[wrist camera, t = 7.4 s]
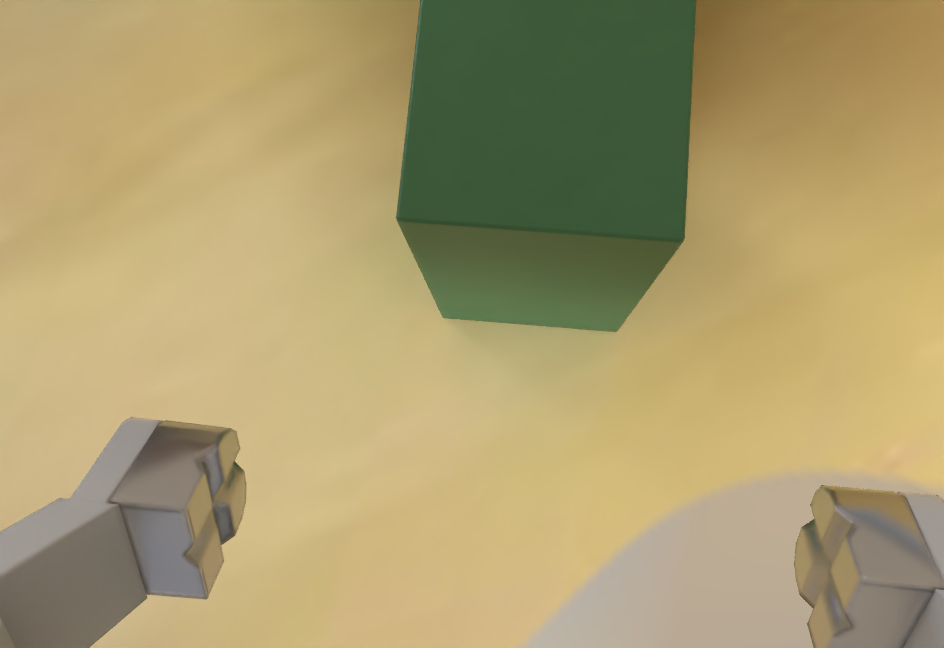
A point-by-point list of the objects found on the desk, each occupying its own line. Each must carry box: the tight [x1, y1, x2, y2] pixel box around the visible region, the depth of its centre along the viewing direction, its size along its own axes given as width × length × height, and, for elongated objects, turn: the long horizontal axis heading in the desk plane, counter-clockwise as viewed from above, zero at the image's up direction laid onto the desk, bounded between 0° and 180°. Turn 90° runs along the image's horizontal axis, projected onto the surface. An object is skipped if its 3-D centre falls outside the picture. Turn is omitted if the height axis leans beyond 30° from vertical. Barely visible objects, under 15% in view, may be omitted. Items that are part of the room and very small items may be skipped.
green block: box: [396, 0, 696, 332], centre depth 18 cm, size 5×5×9 cm
